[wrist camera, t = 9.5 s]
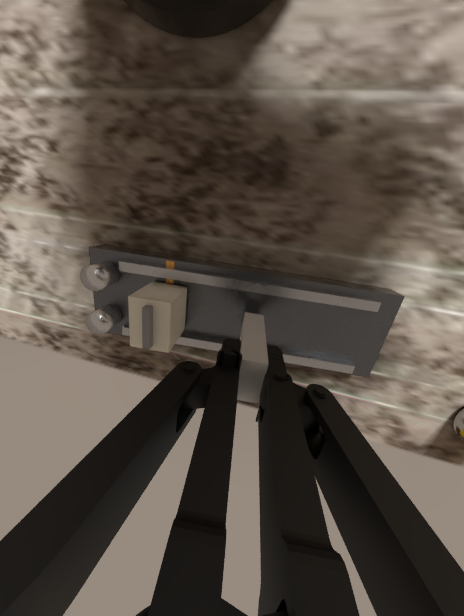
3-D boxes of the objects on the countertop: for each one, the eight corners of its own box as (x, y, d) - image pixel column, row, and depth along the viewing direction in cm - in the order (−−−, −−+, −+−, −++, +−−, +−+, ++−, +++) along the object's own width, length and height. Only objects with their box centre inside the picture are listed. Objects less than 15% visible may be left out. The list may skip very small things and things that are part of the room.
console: (103, 244, 21) (70, 249, 17) (390, 289, 20) (421, 305, 16) (109, 322, 24) (82, 341, 20) (358, 364, 23) (379, 392, 19)
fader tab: (152, 281, 19) (123, 299, 15) (187, 286, 19) (167, 306, 15) (152, 323, 21) (125, 350, 16) (184, 328, 20) (166, 357, 16)
